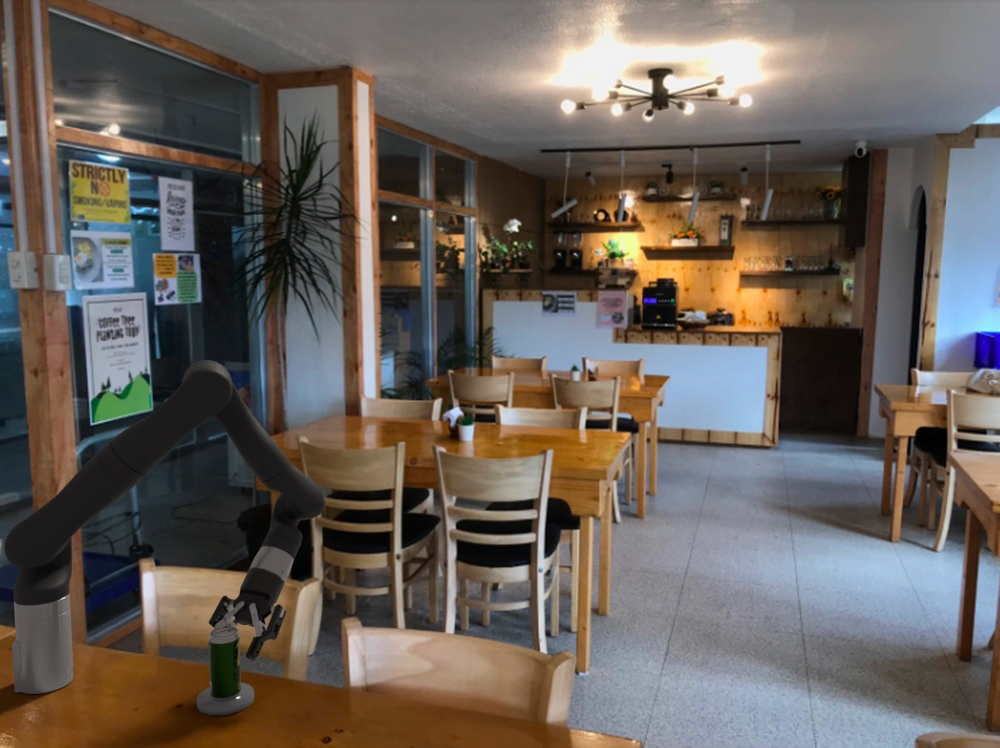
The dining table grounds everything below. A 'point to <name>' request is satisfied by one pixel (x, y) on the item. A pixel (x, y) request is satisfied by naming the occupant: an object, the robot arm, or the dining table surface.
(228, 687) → the beer can
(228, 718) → the dining table surface
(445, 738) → the dining table surface
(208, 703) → the smooth grey oval object
